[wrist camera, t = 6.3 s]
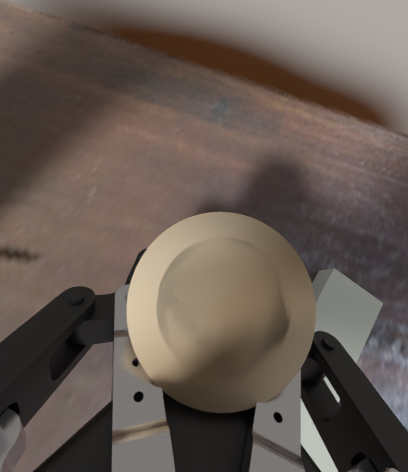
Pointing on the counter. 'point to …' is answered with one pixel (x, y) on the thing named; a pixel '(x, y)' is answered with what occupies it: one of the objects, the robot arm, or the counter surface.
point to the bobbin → (221, 312)
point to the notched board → (346, 332)
